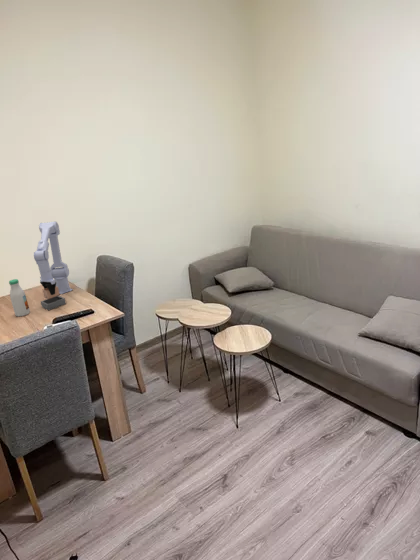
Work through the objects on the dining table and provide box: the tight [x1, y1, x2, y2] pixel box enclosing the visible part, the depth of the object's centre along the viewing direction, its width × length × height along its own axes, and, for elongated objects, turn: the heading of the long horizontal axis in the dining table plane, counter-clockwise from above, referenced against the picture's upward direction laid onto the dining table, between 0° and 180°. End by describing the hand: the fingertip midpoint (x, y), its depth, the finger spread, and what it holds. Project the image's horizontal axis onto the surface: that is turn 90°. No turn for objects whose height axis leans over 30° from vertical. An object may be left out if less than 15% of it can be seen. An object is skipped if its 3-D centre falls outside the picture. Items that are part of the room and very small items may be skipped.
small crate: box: [42, 286, 61, 299], centre depth 228 cm, size 5×7×5 cm
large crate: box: [40, 295, 67, 311], centre depth 230 cm, size 9×11×4 cm
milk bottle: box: [8, 278, 31, 317], centre depth 220 cm, size 8×8×20 cm
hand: (50, 293), depth 228 cm, fingers closed on small crate, 5 cm apart
